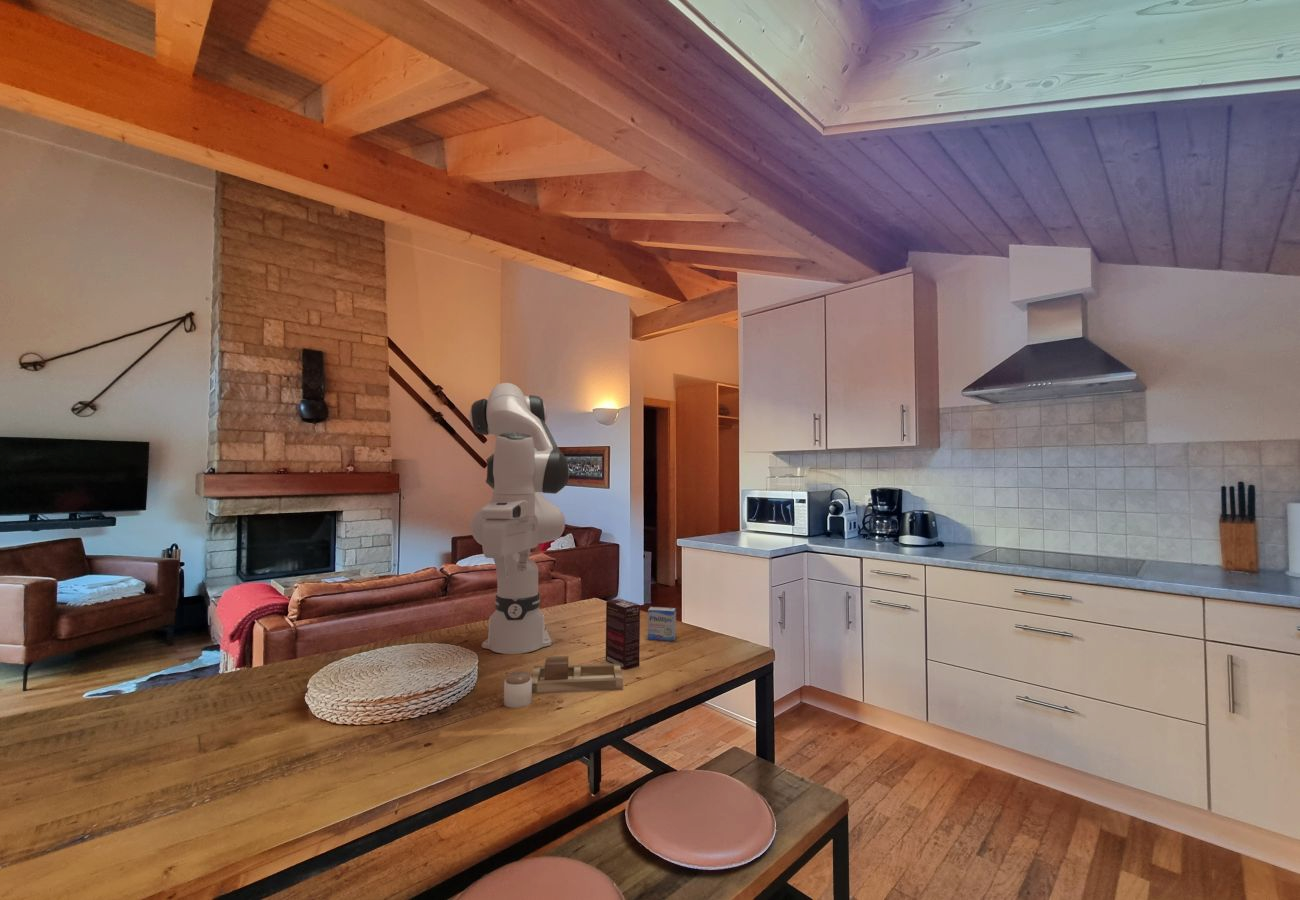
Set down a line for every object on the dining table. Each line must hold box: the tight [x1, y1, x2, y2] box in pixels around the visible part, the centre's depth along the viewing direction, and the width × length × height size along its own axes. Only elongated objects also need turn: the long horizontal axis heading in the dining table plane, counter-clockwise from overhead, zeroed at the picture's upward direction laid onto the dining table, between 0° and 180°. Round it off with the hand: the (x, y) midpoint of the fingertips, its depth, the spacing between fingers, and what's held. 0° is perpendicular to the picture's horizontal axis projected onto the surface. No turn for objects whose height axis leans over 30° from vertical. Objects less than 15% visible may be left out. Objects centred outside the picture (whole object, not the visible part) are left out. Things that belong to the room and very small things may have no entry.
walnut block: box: [544, 655, 569, 680], centre depth 119 cm, size 5×5×5 cm
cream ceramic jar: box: [503, 670, 533, 709], centre depth 109 cm, size 6×6×6 cm
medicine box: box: [647, 606, 677, 642], centre depth 154 cm, size 8×4×9 cm, turn 81°
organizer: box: [531, 663, 624, 694], centre depth 119 cm, size 10×20×3 cm, turn 97°
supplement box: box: [605, 598, 641, 671], centre depth 132 cm, size 9×5×16 cm, turn 39°
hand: (512, 574), depth 111 cm, fingers open, 8 cm apart
